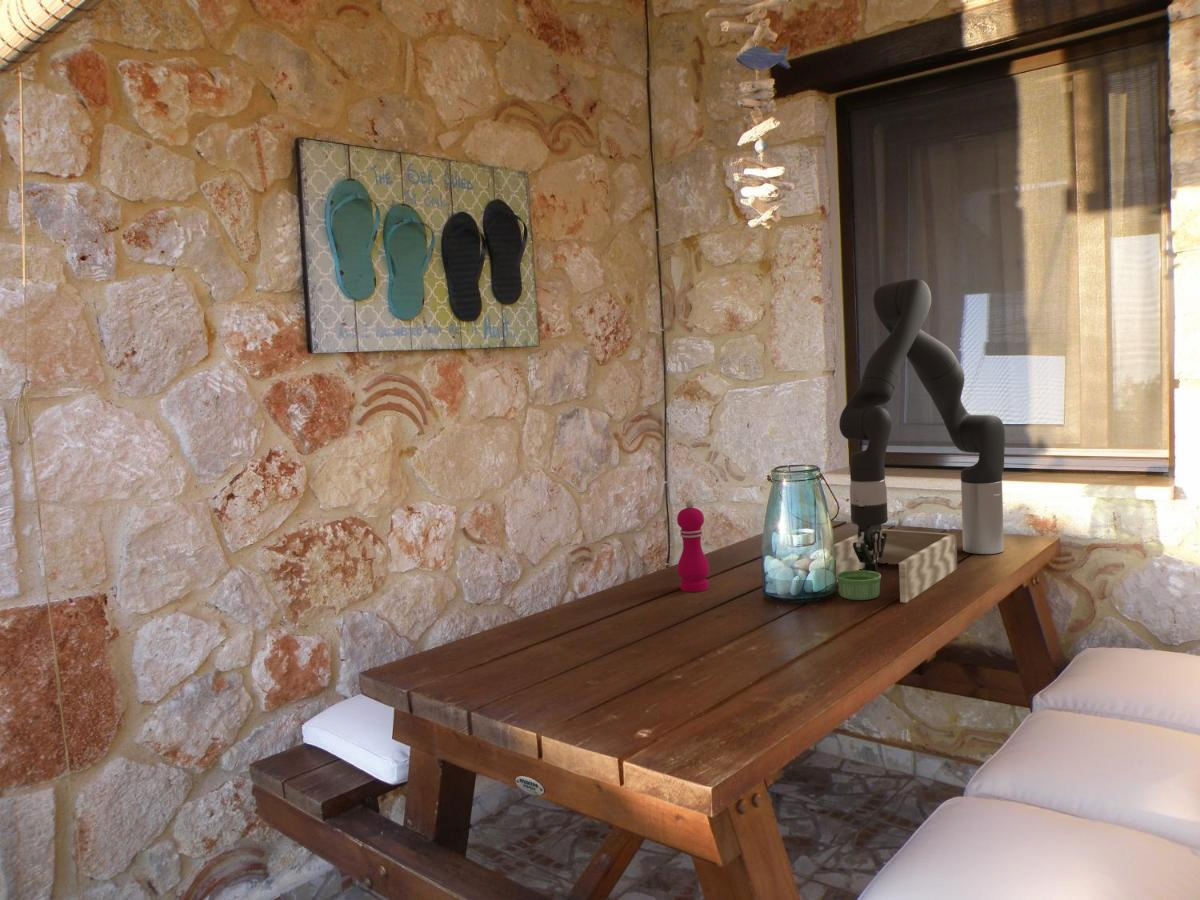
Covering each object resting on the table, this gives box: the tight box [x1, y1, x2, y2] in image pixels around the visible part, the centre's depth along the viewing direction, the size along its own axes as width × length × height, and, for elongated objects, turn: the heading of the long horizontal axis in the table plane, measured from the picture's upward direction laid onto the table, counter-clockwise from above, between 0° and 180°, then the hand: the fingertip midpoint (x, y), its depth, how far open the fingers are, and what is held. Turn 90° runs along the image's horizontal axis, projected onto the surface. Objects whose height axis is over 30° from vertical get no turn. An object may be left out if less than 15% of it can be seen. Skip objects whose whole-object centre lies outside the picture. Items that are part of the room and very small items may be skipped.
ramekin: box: [836, 569, 882, 601], centre depth 190 cm, size 9×9×4 cm
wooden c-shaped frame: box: [833, 528, 958, 604], centre depth 201 cm, size 32×20×8 cm, turn 141°
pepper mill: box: [676, 500, 711, 593], centre depth 204 cm, size 7×7×20 cm
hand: (871, 580), depth 195 cm, fingers closed
